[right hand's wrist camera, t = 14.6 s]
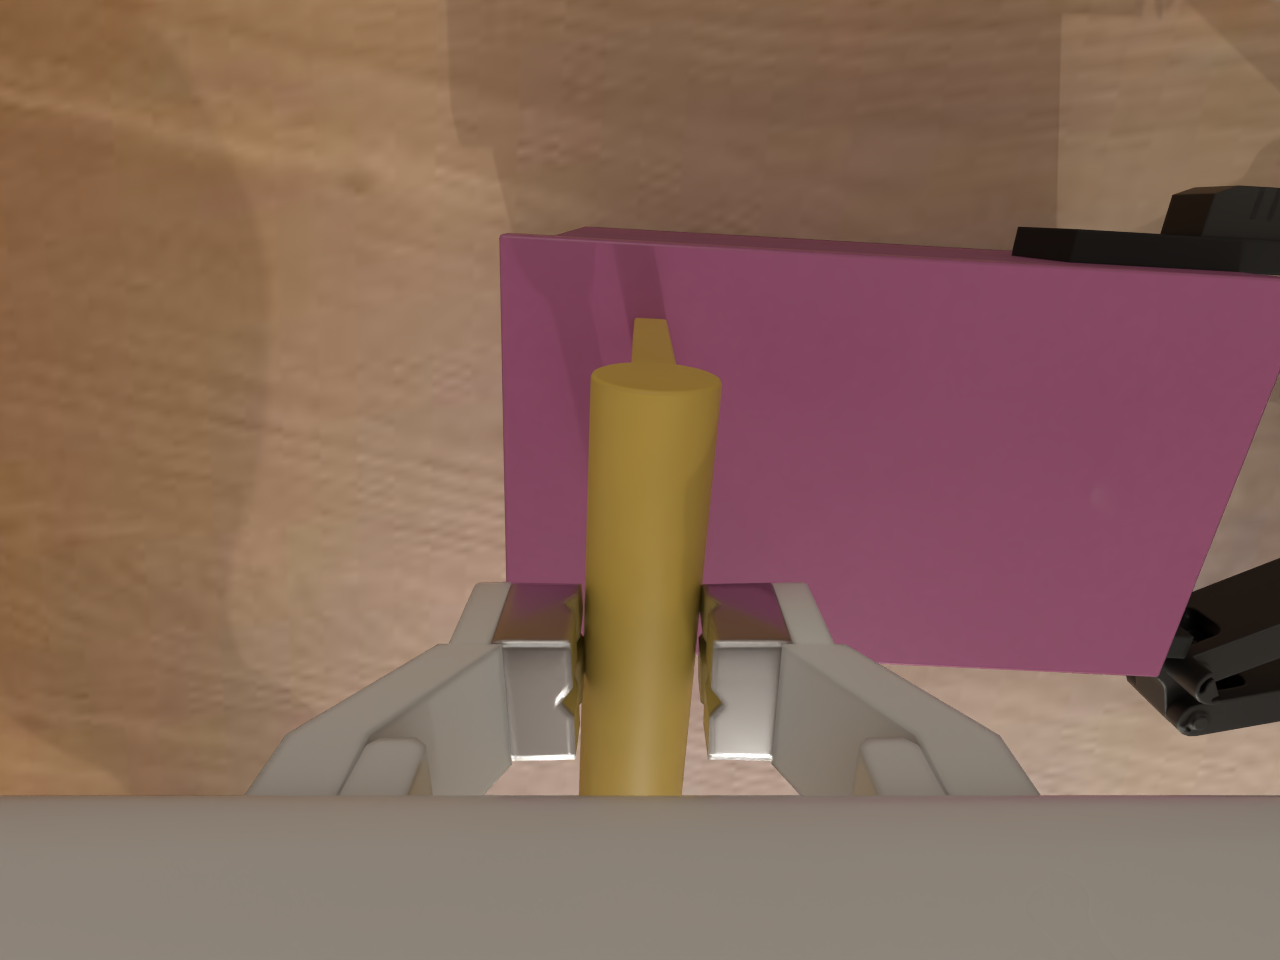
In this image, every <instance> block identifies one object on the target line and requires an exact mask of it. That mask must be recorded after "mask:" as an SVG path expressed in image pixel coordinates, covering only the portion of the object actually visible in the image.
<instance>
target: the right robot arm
mask: <svg viewBox="0 0 1280 960" xmlns="http://www.w3.org/2000/svg"><path fill="white" fill-rule="evenodd" d="M700 618H701V626H702V634H701V635H700V636H699V638H698V678H699V691H700V700H701V703H703V704H704V723H703V724H704V732H705V739H706V746H707V754H708V759H719V760H755V761H772V765H773V766H774V767H775V768H776V769H777V770H778V771H779V772H780V773H781V775H782V776H783V777H784V778H785V779H786V780H787V781H788V782H789V783H790V784H791V785H792V787H793V788H794V789H795V790H796V791H797V792H798V793H799V794H800V795H769V796H560V795H559V796H558V795H484V794H485V793H486V792H487V791H488V790H489V789H490V788H491V786H492V785H493V784H494V783H495V782H496V781H497V780H498V779H499V778H500V777H501V776H502V775H503V773H504V772H505V771H506V770H507V769H508V768H509V767H510V766H511V765H512V761H527V760H563V759H575V757H576V749H577V741H578V734H579V726H580V717H579V704H580V703H582V700H583V690H584V673H585V665H584V636H583V635H582V634H581V627H582V619H583V593H582V585H581V584H567V583H512V582H482V583H477V584H476V585H475V586H474V588H473V591H472V593H471V595H470V597H469V599H468V602H467V604H466V606H465V608H464V611H463V613H462V615H461V617H460V620H459V622H458V624H457V626H456V629H455V631H454V633H453V635H452V637H451V640H450V642H449V644H438V645H436V646H434V647H433V648H431V649H429V650H428V651H426V652H424V653H422V654H421V655H419V656H417V657H416V658H414V659H412V660H411V661H409V662H407V663H406V664H404V665H402V666H401V667H399V668H397V669H396V670H394V671H392V672H391V673H389V674H387V675H385V676H384V677H382V678H380V679H379V680H377V681H375V682H374V683H372V684H370V685H369V686H367V687H365V688H364V689H362V690H360V691H359V692H357V693H355V694H353V695H352V696H350V697H348V698H347V699H345V700H343V701H342V702H340V703H338V704H337V705H335V706H333V707H332V708H330V709H328V710H327V711H325V712H323V713H322V714H320V715H318V716H316V717H315V718H313V719H311V720H310V721H308V722H306V723H305V724H303V725H301V726H300V727H298V728H296V729H295V730H293V731H291V732H290V733H288V734H286V735H285V737H284V738H283V740H282V741H281V743H280V744H279V746H278V747H277V749H276V750H275V751H274V753H273V754H272V756H271V757H270V759H269V760H268V762H267V763H266V765H265V766H264V768H263V769H262V770H261V772H260V773H259V775H258V776H257V778H256V779H255V781H254V782H253V784H252V785H251V787H250V788H249V790H248V791H247V792H246V794H245V795H0V960H1280V796H1211V795H1040V794H1039V792H1038V791H1037V789H1036V788H1035V786H1034V785H1033V783H1032V782H1031V781H1030V779H1029V778H1028V776H1027V775H1026V773H1025V772H1024V770H1023V769H1022V767H1021V766H1020V764H1019V763H1018V762H1017V760H1016V759H1015V757H1014V756H1013V754H1012V753H1011V751H1010V750H1009V748H1008V747H1007V746H1006V744H1005V743H1004V741H1003V740H1002V738H1001V737H1000V735H998V734H996V733H994V732H993V731H991V730H989V729H988V728H986V727H984V726H983V725H981V724H979V723H978V722H976V721H974V720H973V719H971V718H969V717H967V716H966V715H964V714H962V713H961V712H959V711H957V710H956V709H954V708H952V707H951V706H949V705H947V704H946V703H944V702H942V701H941V700H939V699H937V698H935V697H934V696H932V695H930V694H929V693H927V692H925V691H924V690H922V689H920V688H919V687H917V686H915V685H914V684H912V683H910V682H908V681H907V680H905V679H903V678H902V677H900V676H898V675H897V674H895V673H893V672H892V671H890V670H888V669H887V668H885V667H883V666H882V665H880V664H878V663H876V662H875V661H873V660H871V659H870V658H868V657H866V656H865V655H863V654H861V653H860V652H858V651H856V650H855V649H853V648H851V647H849V646H848V645H846V644H835V643H834V641H833V638H832V636H831V634H830V632H829V630H828V628H827V625H826V623H825V621H824V619H823V617H822V615H821V612H820V610H819V608H818V606H817V604H816V602H815V600H814V597H813V595H812V593H811V591H810V589H809V587H808V584H806V583H804V582H783V583H731V584H703V585H701V599H700Z"/></svg>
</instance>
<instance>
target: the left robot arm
mask: <svg viewBox="0 0 1280 960" xmlns="http://www.w3.org/2000/svg"><path fill="white" fill-rule="evenodd" d="M1011 256H1019V257H1027V258H1036V259H1044V260H1052V261H1060V262H1069V263H1086V264H1104V265H1121V266H1139V267H1157V268H1174V269H1192V270H1210V271H1227V272H1241V273H1251V274H1264V275H1280V188H1271V187H1254V186H1219V187H1196V188H1192V189H1189V190H1186V191H1183V192H1180V193H1177V194H1174V195H1172V198H1171V202H1170V205H1169V208H1168V211H1167V214H1166V218H1165V221H1164V224H1163V227H1162V230H1161V234H1149V233H1132V232H1115V231H1098V230H1081V229H1058V228H1034V227H1018V229H1017V234H1016V238H1015V242H1014V246H1013V250H1012V255H1011ZM1083 674H1087V673H1083ZM1105 675H1109V674H1105ZM1126 677H1127V681H1128V682H1129V683H1130V684H1131V685H1132V686H1133V687H1134V688H1135V689H1136V690H1137V691H1138V692H1139V693H1140V694H1141V695H1142V696H1143V697H1144V698H1145V699H1146V700H1147V701H1148V702H1149V703H1150V704H1151V705H1153V706H1154V707H1155V708H1156V709H1157V710H1158V711H1159V712H1160V713H1161V714H1162V715H1163V716H1164V717H1165V718H1166V719H1167V720H1168V721H1169V722H1171V723H1172V724H1173V725H1174V726H1175V727H1176V728H1177V729H1178V730H1179V731H1180V732H1181V733H1182V734H1184V735H1187V736H1199V735H1204V734H1210V733H1216V732H1221V731H1227V730H1233V729H1238V728H1244V727H1250V726H1255V725H1261V724H1267V723H1272V722H1278V721H1280V558H1279V559H1276V560H1274V561H1271V562H1268V563H1266V564H1263V565H1261V566H1258V567H1256V568H1253V569H1250V570H1248V571H1245V572H1243V573H1240V574H1237V575H1235V576H1232V577H1230V578H1227V579H1225V580H1222V581H1219V582H1217V583H1214V584H1212V585H1209V586H1207V587H1204V588H1201V589H1199V590H1196V591H1194V592H1192V593H1191V596H1190V598H1189V601H1188V603H1187V606H1186V608H1185V611H1184V613H1183V616H1182V618H1181V621H1180V623H1179V626H1178V628H1177V631H1176V633H1175V636H1174V638H1173V641H1172V644H1171V646H1170V649H1169V651H1168V654H1167V656H1166V659H1165V661H1164V664H1163V666H1162V669H1161V671H1160V674H1159V676H1157V677H1151V676H1130V675H1126Z"/></svg>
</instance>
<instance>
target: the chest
mask: <svg viewBox="0 0 1280 960" xmlns="http://www.w3.org/2000/svg"><path fill="white" fill-rule="evenodd" d="M556 236H570V237H588V238H606V239H623V240H641V241H659V242H676V243H694V244H712V245H729V246H747V247H765V248H782V249H800V250H818V251H835V252H853V253H871V254H888V255H906V256H924V257H941V258H959V259H977V260H994V261H1012V262H1030V263H1047V264H1065V265H1083V266H1100V267H1118V268H1136V269H1153V270H1171V271H1189V272H1206V273H1224V274H1242V275H1259V276H1270V275H1260V274H1251V273H1241V272H1227V271H1210V270H1192V269H1174V268H1157V267H1139V266H1121V265H1104V264H1086V263H1069V262H1060V261H1052V260H1044V259H1036V258H1027V257H1019V256H1011V255H1012V251H1005V250H987V249H970V248H952V247H934V246H917V245H899V244H882V243H864V242H846V241H829V240H811V239H794V238H776V237H759V236H741V235H723V234H706V233H688V232H671V231H653V230H635V229H618V228H600V227H583V228H580V229H576V230H573V231H569V232H566V233H562V234H559V235H556Z"/></svg>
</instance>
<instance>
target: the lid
mask: <svg viewBox="0 0 1280 960" xmlns="http://www.w3.org/2000/svg"><path fill="white" fill-rule="evenodd" d="M499 241H500V291H501V341H502V391H503V440H504V490H505V540H506V582H512V583H567V584H581V585H582V593H583V619H582V627H581V634H582V635H583V636H584V665H585V673H584V690H583V700H582V710H581V746H580V782H579V796H682V786H683V776H684V765H685V755H686V745H687V735H688V725H689V715H690V705H691V695H692V684H693V674H694V664H695V655H698V638H699V636H700V635H701V634H702V626H701V618H700V599H701V585H703V584H731V583H783V582H804V583H806V584H808V587H809V589H810V591H811V593H812V595H813V597H814V600H815V602H816V604H817V606H818V608H819V610H820V612H821V615H822V617H823V619H824V621H825V623H826V625H827V628H828V630H829V632H830V634H831V636H832V638H833V641H834V643H835V644H846V645H848V646H849V647H851V648H853V649H855V650H856V651H858V652H860V653H861V654H863V655H865V656H866V657H868V658H870V659H871V660H873V661H875V662H876V663H878V664H896V665H917V666H938V667H960V668H981V669H1002V670H1024V671H1045V672H1066V673H1087V674H1109V675H1130V676H1151V677H1157V676H1159V674H1160V671H1161V669H1162V666H1163V664H1164V661H1165V659H1166V656H1167V654H1168V651H1169V649H1170V646H1171V644H1172V641H1173V638H1174V636H1175V633H1176V631H1177V628H1178V626H1179V623H1180V621H1181V618H1182V616H1183V613H1184V611H1185V608H1186V606H1187V603H1188V601H1189V598H1190V596H1191V593H1192V591H1193V588H1194V586H1195V583H1196V581H1197V578H1198V576H1199V573H1200V571H1201V568H1202V566H1203V563H1204V560H1205V558H1206V555H1207V553H1208V550H1209V548H1210V545H1211V543H1212V540H1213V538H1214V535H1215V533H1216V530H1217V528H1218V525H1219V523H1220V520H1221V518H1222V515H1223V513H1224V510H1225V508H1226V505H1227V503H1228V500H1229V498H1230V495H1231V493H1232V490H1233V488H1234V485H1235V483H1236V480H1237V477H1238V475H1239V472H1240V470H1241V467H1242V465H1243V462H1244V460H1245V457H1246V455H1247V452H1248V450H1249V447H1250V445H1251V442H1252V440H1253V437H1254V435H1255V432H1256V430H1257V427H1258V425H1259V422H1260V420H1261V417H1262V415H1263V412H1264V410H1265V407H1266V405H1267V402H1268V400H1269V397H1270V394H1271V392H1272V389H1273V387H1274V384H1275V382H1276V379H1277V377H1278V374H1279V372H1280V277H1277V276H1259V275H1242V274H1224V273H1206V272H1189V271H1171V270H1153V269H1136V268H1118V267H1100V266H1083V265H1065V264H1047V263H1030V262H1012V261H994V260H977V259H959V258H941V257H924V256H906V255H888V254H871V253H853V252H835V251H818V250H800V249H782V248H765V247H747V246H729V245H712V244H694V243H676V242H659V241H641V240H623V239H606V238H588V237H570V236H553V235H535V234H518V233H506V234H502V235H500V238H499Z"/></svg>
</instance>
